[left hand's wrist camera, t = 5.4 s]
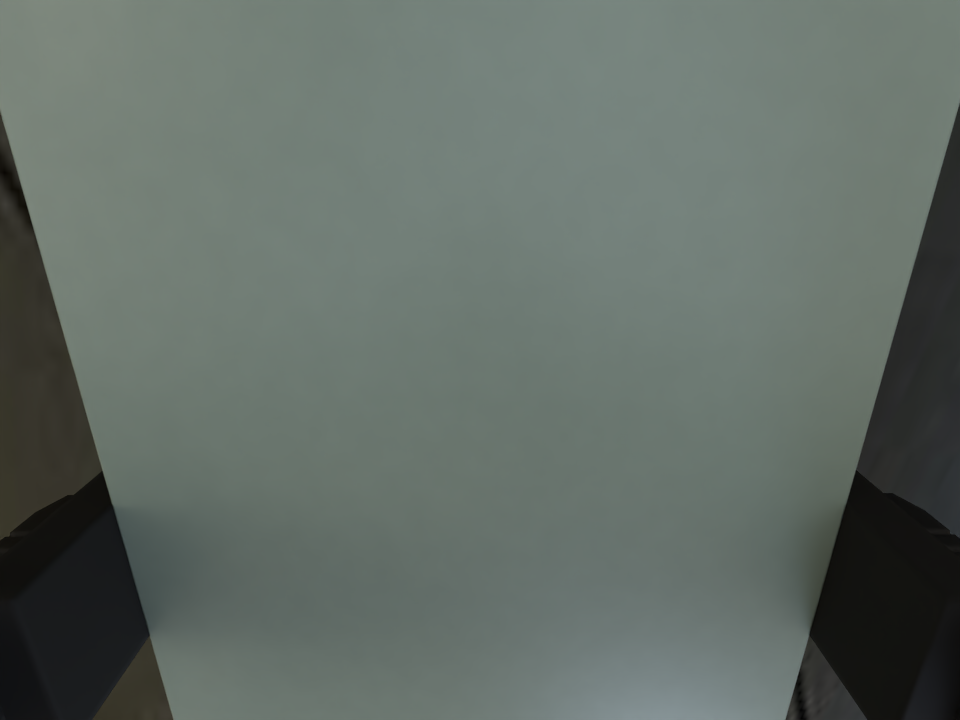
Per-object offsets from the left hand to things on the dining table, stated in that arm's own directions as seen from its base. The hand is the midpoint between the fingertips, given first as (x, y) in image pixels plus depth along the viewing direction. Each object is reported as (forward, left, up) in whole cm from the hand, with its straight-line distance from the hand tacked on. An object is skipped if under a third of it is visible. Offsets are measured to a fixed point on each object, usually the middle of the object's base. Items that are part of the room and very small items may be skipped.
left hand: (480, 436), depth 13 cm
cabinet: (+2, +5, -6) cm, 8 cm away
